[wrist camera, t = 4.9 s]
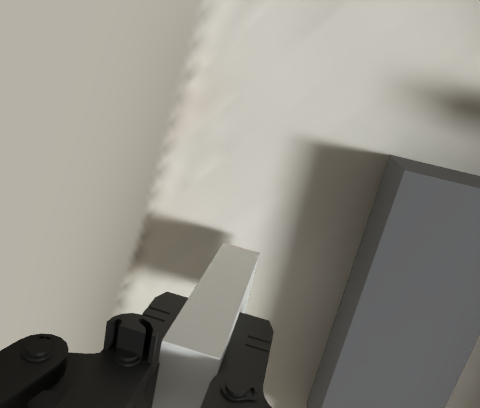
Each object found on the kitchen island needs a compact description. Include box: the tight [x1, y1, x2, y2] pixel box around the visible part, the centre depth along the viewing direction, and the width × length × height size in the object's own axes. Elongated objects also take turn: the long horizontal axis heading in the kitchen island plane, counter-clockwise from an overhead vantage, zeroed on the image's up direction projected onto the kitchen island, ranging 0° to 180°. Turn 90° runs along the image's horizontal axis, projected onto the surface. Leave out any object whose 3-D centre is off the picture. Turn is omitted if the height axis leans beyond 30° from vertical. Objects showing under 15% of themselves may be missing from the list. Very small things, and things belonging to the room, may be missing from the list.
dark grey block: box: [307, 155, 480, 408], centre depth 16 cm, size 13×4×3 cm, turn 168°
